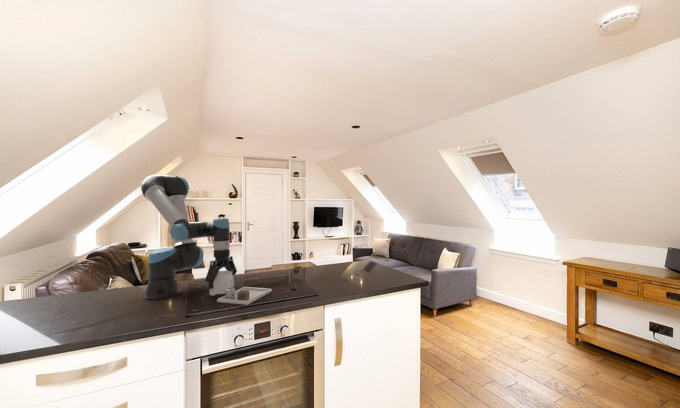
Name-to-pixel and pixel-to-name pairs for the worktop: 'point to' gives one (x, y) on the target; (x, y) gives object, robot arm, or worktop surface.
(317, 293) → the worktop surface
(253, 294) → the tray
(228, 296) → the metal spacer
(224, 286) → the cup
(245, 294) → the walnut block
